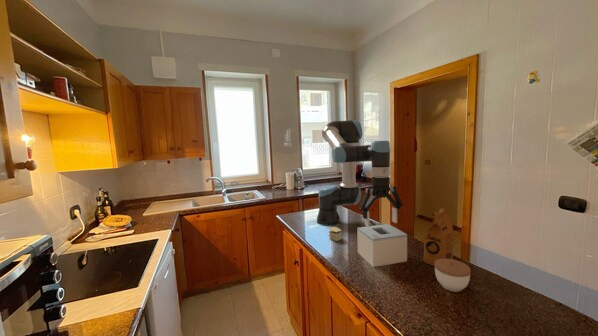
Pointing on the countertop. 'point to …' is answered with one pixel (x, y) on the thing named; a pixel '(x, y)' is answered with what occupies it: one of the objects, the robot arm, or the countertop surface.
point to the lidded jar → (452, 274)
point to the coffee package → (438, 239)
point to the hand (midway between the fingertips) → (381, 223)
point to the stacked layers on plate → (335, 233)
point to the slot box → (382, 244)
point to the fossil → (371, 223)
